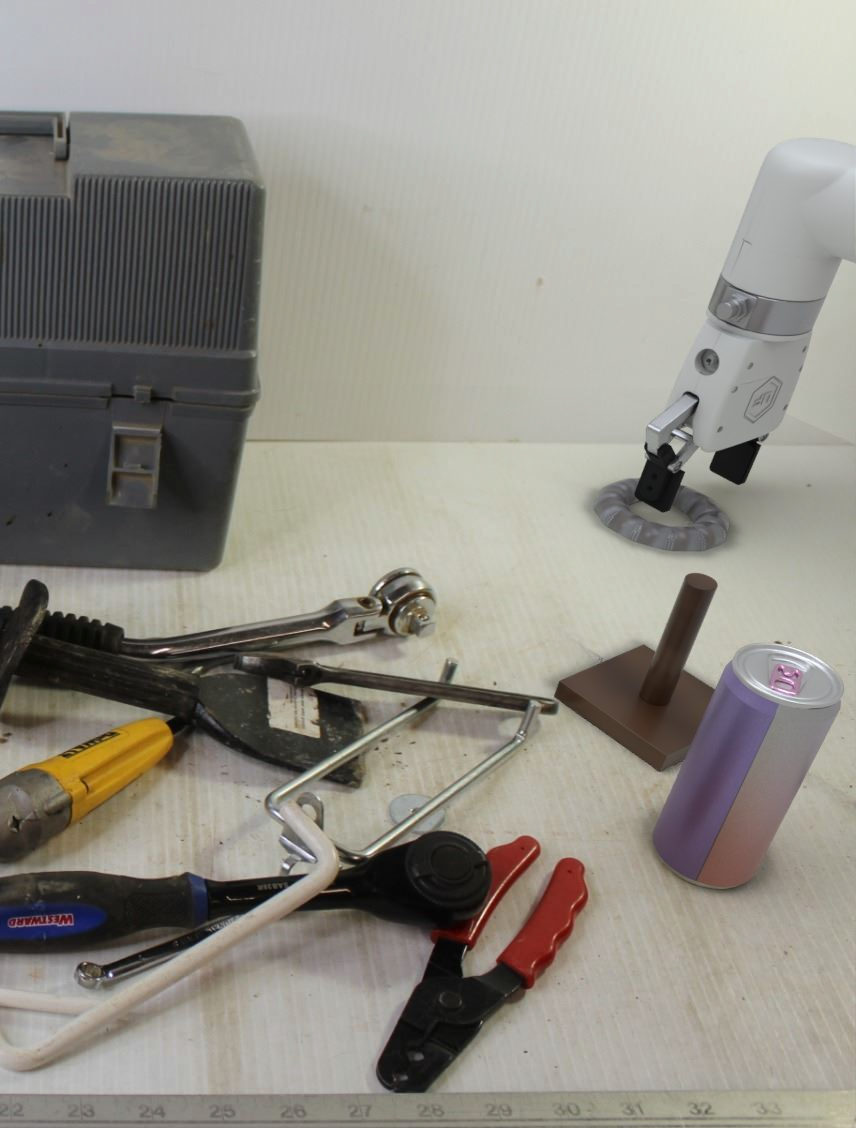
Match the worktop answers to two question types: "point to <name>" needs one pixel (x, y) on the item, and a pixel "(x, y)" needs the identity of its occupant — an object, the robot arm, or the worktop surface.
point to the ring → (696, 537)
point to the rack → (650, 686)
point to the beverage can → (746, 763)
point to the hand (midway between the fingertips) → (689, 490)
